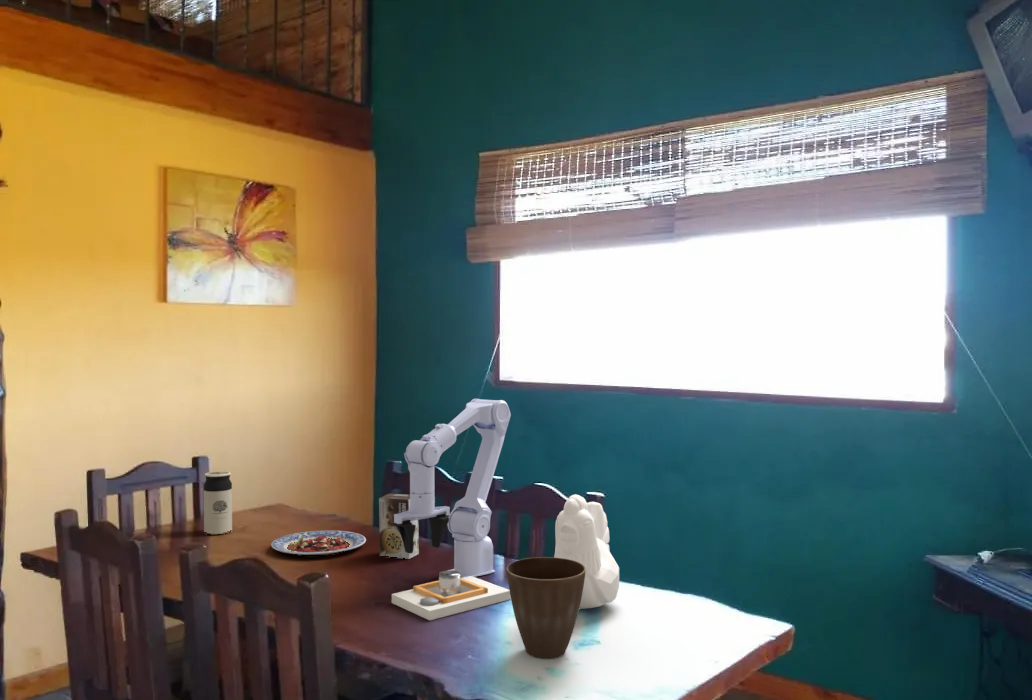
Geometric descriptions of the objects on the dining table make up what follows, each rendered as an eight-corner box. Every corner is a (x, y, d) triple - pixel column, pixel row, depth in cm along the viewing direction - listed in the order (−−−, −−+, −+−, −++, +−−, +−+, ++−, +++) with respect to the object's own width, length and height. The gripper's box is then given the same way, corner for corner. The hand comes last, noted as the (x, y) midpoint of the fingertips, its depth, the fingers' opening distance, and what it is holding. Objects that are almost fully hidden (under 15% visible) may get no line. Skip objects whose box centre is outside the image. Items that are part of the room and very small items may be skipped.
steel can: (448, 595, 193) (449, 569, 193) (464, 599, 190) (464, 572, 190) (434, 601, 189) (434, 573, 189) (450, 605, 186) (450, 577, 186)
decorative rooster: (592, 623, 174) (592, 504, 174) (529, 609, 184) (530, 495, 183) (648, 593, 194) (648, 486, 194) (589, 581, 204) (590, 479, 203)
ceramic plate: (385, 545, 240) (385, 535, 240) (318, 566, 218) (318, 555, 218) (320, 533, 254) (320, 524, 254) (251, 552, 232) (251, 541, 232)
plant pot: (595, 663, 153) (596, 576, 153) (515, 670, 150) (515, 581, 150) (573, 635, 168) (573, 555, 167) (499, 640, 165) (499, 559, 164)
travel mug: (205, 530, 257) (205, 471, 256) (233, 529, 259) (232, 470, 258) (202, 536, 249) (202, 475, 249) (230, 535, 251) (230, 474, 250)
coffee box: (419, 553, 230) (419, 494, 229) (409, 559, 224) (409, 499, 223) (389, 551, 233) (389, 492, 232) (378, 556, 227) (378, 497, 226)
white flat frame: (470, 584, 202) (470, 571, 202) (510, 599, 190) (510, 586, 190) (391, 602, 188) (391, 589, 188) (429, 620, 176) (429, 606, 176)
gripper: (437, 485, 205) (437, 541, 206) (386, 493, 196) (386, 551, 196) (454, 489, 200) (455, 546, 200) (403, 497, 190) (403, 557, 191)
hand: (422, 549), depth 198 cm, fingers open, 7 cm apart
